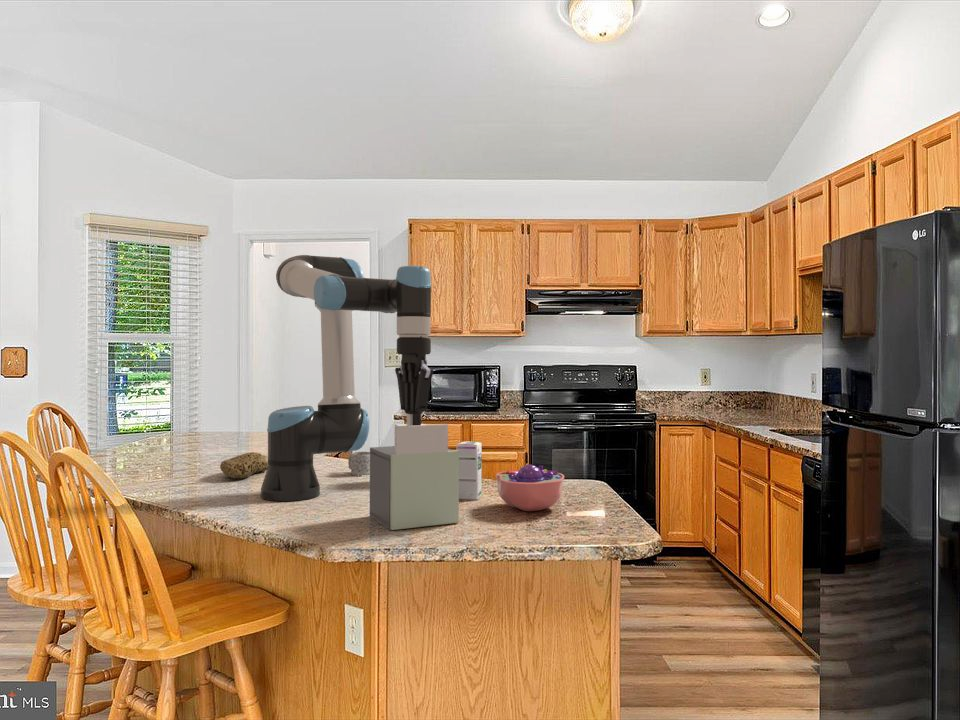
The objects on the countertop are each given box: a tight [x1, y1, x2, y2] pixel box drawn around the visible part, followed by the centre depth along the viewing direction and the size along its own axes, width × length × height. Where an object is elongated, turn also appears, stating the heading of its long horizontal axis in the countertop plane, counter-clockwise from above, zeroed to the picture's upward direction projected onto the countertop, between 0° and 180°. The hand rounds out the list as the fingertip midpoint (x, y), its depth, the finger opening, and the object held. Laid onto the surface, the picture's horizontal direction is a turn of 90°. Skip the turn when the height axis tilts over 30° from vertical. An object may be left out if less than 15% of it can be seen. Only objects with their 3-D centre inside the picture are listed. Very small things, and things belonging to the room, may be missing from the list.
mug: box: [347, 451, 370, 477], centre depth 220 cm, size 10×7×7 cm, turn 46°
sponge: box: [219, 452, 268, 480], centre depth 215 cm, size 13×8×20 cm
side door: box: [390, 423, 460, 531], centre depth 153 cm, size 1×16×22 cm, turn 116°
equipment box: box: [369, 445, 453, 531], centre depth 160 cm, size 14×16×16 cm
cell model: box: [495, 464, 565, 512], centre depth 172 cm, size 17×20×11 cm
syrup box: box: [455, 440, 483, 501], centre depth 185 cm, size 6×6×14 cm
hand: (413, 443), depth 155 cm, fingers closed
